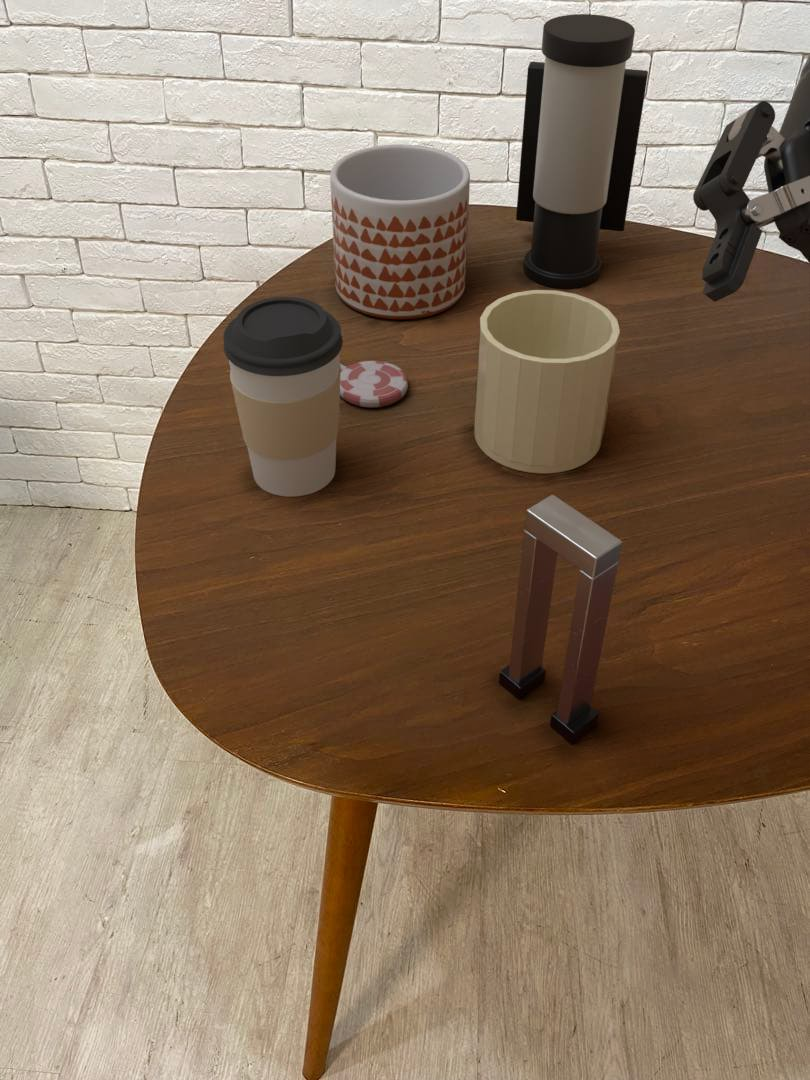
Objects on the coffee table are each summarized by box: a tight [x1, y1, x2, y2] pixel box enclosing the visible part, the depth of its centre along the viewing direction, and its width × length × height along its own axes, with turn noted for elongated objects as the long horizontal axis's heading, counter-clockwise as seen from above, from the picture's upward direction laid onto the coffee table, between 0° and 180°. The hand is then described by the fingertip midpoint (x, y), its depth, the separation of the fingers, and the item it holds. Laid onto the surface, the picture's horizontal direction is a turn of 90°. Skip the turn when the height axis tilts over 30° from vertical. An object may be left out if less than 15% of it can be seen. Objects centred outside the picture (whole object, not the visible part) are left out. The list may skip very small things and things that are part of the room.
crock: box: [473, 289, 621, 474], centre depth 89 cm, size 11×11×11 cm
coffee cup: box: [222, 296, 344, 498], centre depth 83 cm, size 9×9×15 cm
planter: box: [329, 143, 471, 321], centre depth 107 cm, size 14×14×13 cm
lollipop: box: [339, 360, 409, 408], centre depth 99 cm, size 7×1×15 cm
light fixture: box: [515, 13, 649, 289], centre depth 107 cm, size 12×11×25 cm
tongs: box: [498, 494, 623, 745], centre depth 65 cm, size 7×2×16 cm, turn 40°
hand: (780, 340), depth 54 cm, fingers open, 8 cm apart
